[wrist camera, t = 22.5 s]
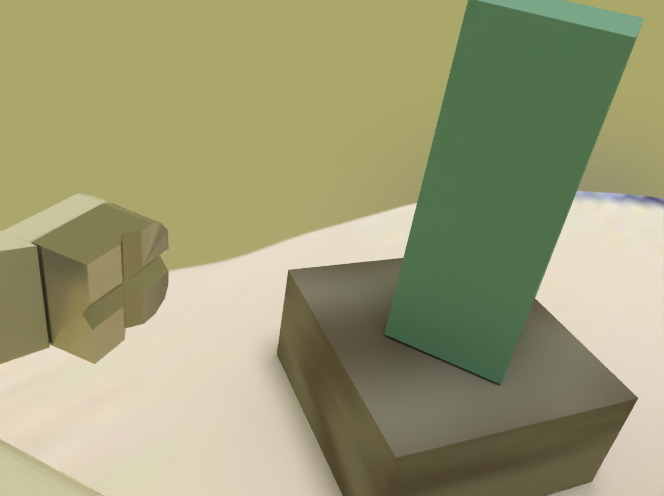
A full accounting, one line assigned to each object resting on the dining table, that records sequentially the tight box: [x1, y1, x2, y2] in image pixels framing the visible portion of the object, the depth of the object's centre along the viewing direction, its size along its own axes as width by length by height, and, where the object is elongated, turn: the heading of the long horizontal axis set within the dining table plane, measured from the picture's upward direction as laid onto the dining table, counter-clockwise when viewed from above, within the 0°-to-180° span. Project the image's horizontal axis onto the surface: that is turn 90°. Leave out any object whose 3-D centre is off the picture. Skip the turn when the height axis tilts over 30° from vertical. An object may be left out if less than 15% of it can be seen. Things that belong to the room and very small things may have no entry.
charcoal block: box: [277, 258, 638, 496], centre depth 26 cm, size 10×10×5 cm
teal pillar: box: [385, 0, 644, 384], centre depth 22 cm, size 4×4×12 cm
